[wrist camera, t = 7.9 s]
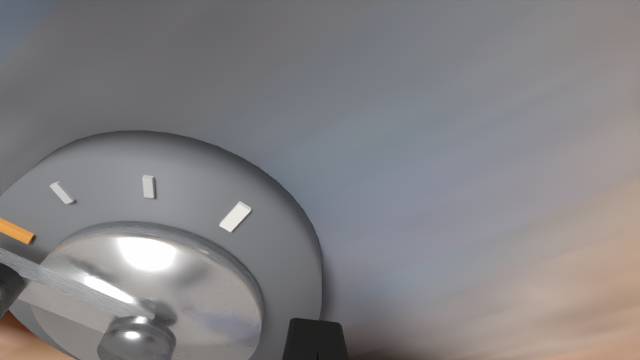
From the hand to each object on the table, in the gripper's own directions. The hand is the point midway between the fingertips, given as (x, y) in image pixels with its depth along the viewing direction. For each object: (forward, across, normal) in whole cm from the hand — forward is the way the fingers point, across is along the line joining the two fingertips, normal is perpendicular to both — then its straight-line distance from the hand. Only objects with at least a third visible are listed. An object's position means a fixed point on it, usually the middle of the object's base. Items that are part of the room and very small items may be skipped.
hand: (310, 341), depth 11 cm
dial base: (+9, +7, +8) cm, 14 cm away
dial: (+7, +8, +7) cm, 13 cm away
